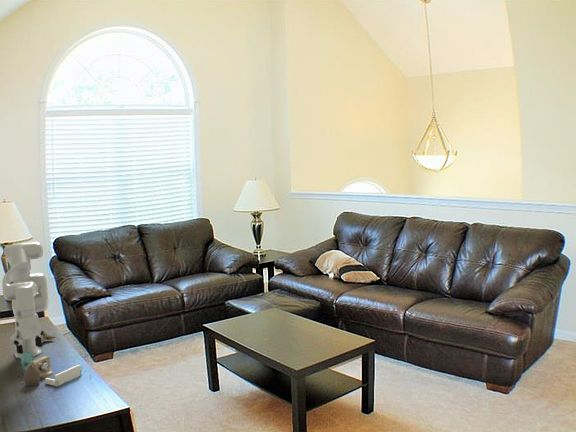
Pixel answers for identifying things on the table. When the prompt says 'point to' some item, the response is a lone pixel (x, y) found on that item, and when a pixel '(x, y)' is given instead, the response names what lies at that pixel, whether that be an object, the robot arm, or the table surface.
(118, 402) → the table surface
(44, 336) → the ceramic sculpture
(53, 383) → the cradle
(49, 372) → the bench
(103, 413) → the table surface
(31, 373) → the vase
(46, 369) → the mallet
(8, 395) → the table surface
